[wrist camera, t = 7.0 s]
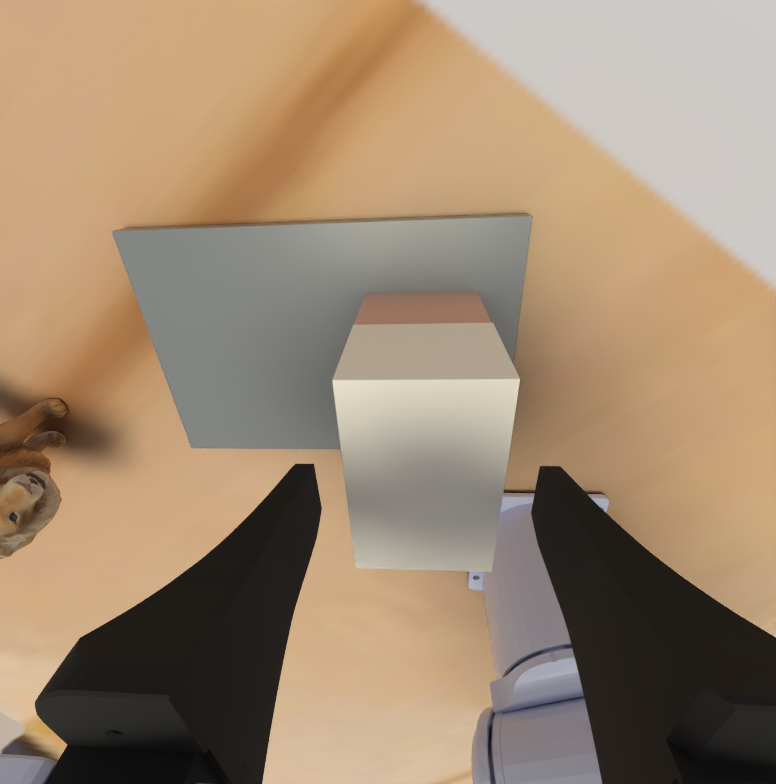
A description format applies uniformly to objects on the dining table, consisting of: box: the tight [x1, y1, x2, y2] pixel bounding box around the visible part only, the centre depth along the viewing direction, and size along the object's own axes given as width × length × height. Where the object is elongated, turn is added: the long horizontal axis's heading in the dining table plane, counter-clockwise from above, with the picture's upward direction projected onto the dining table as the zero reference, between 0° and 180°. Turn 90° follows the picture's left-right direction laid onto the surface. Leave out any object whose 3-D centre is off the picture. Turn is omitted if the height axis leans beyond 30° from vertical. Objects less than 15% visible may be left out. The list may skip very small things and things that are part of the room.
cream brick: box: [332, 323, 520, 572], centre depth 14 cm, size 8×5×4 cm, turn 2°
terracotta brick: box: [354, 291, 492, 325], centre depth 18 cm, size 8×5×4 cm, turn 2°
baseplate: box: [112, 213, 532, 449], centre depth 20 cm, size 12×18×1 cm, turn 92°
